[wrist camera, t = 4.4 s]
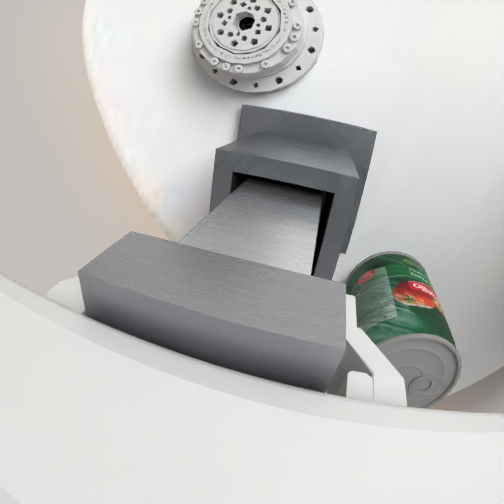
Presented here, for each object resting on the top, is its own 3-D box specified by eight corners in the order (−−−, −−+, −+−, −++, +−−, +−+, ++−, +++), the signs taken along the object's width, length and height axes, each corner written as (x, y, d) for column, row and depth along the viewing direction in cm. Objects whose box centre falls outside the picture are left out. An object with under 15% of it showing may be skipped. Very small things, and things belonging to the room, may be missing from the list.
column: (337, 161, 19) (345, 349, 5) (321, 231, 22) (281, 469, 7) (262, 146, 20) (77, 271, 5) (252, 215, 23) (114, 413, 8)
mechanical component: (295, 112, 22) (342, 4, 17) (287, 113, 18) (344, -15, 14) (182, 72, 23) (224, -28, 18) (155, 68, 19) (204, -48, 14)
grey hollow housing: (375, 130, 21) (414, 153, 11) (345, 248, 26) (347, 346, 15) (246, 104, 23) (173, 107, 12) (230, 221, 27) (166, 299, 17)
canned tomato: (332, 310, 29) (324, 403, 19) (366, 238, 25) (381, 320, 15) (403, 333, 28) (417, 424, 18) (443, 268, 24) (484, 352, 15)
